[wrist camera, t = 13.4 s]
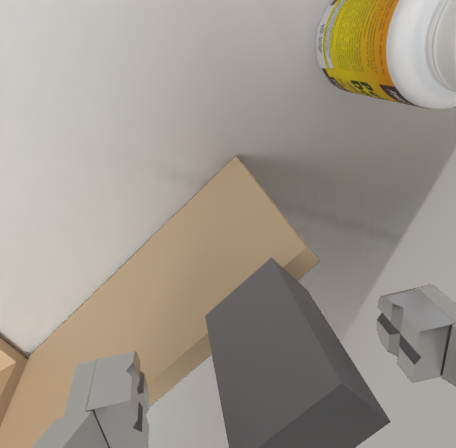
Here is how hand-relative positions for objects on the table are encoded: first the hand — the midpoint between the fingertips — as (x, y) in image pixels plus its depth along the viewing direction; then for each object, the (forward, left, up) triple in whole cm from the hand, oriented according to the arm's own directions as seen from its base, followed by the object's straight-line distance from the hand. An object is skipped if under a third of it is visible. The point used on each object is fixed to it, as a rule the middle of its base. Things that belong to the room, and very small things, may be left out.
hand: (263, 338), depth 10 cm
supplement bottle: (+2, -12, -14) cm, 19 cm away
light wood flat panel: (-2, +7, -14) cm, 16 cm away
